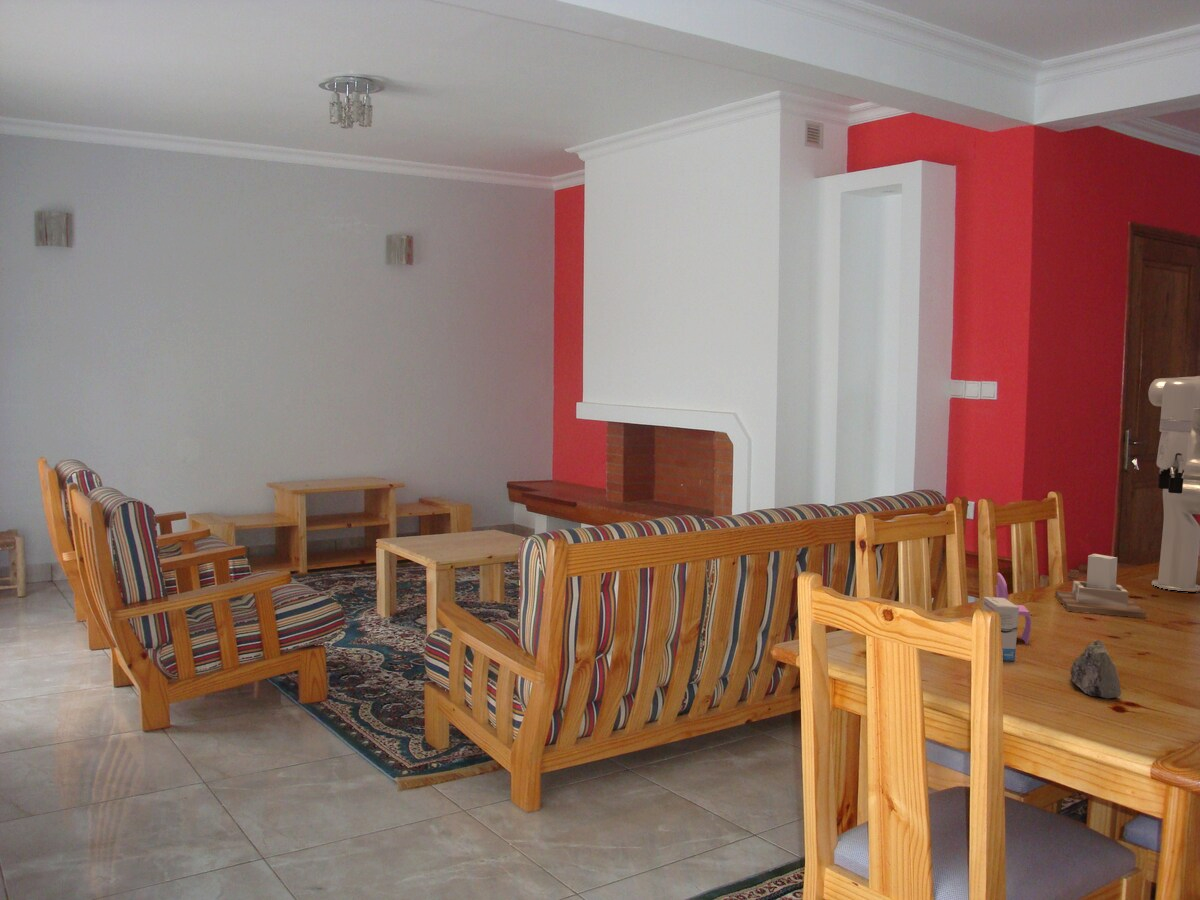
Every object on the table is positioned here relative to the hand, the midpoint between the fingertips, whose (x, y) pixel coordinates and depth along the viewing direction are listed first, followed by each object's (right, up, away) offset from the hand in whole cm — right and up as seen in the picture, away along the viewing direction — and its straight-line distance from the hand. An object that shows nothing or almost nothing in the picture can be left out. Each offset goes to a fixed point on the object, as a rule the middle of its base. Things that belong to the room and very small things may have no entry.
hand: (1169, 490), depth 277 cm
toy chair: (-60, -32, -42) cm, 80 cm away
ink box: (-68, -33, -56) cm, 94 cm away
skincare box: (-22, -29, -7) cm, 37 cm away
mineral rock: (-56, -36, -76) cm, 101 cm away
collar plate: (-22, -30, -6) cm, 38 cm away
